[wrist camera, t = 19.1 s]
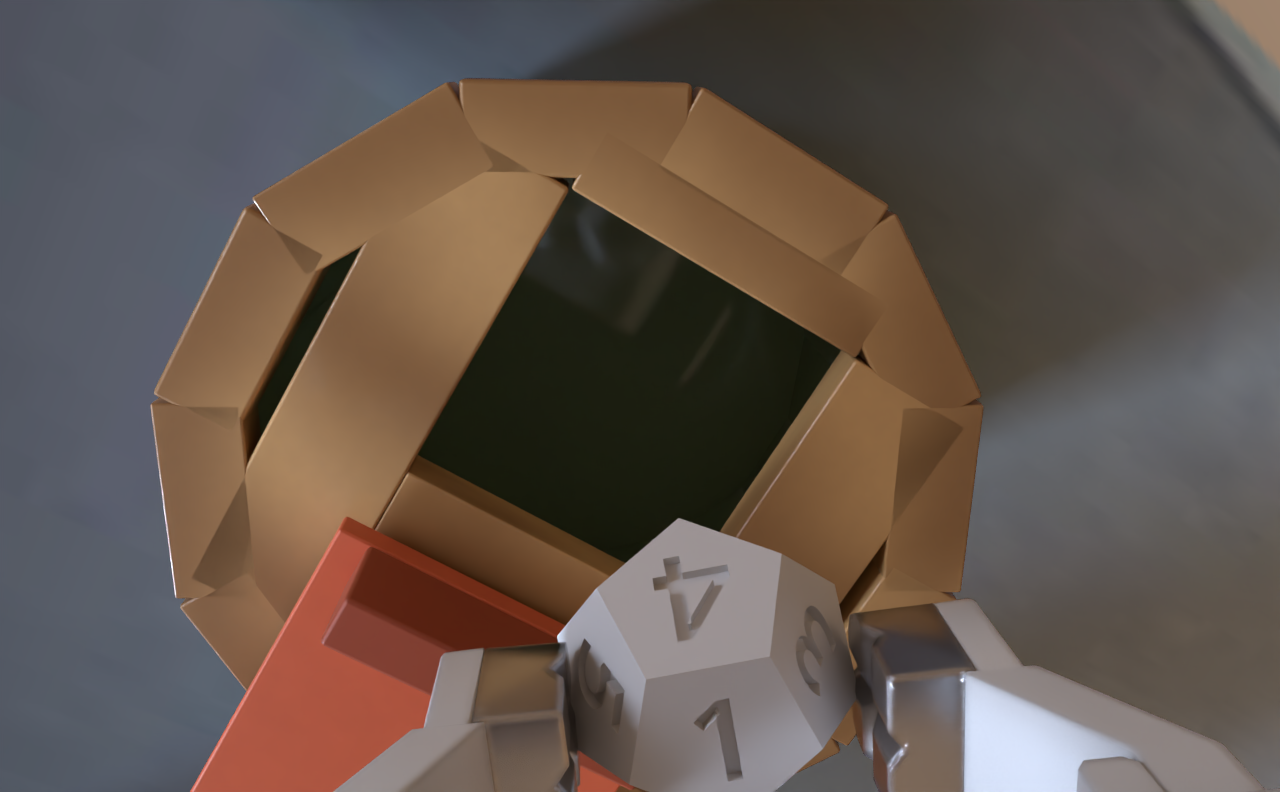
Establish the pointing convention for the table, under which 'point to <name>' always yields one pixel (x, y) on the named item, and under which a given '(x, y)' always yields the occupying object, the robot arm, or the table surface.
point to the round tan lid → (463, 314)
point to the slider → (364, 667)
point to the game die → (708, 665)
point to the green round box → (612, 385)
